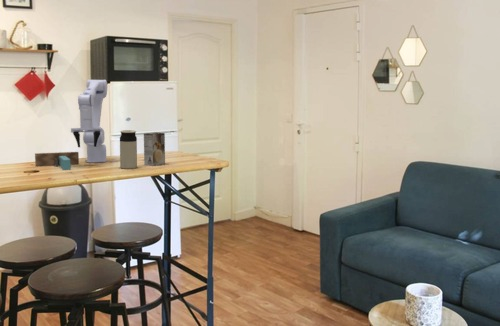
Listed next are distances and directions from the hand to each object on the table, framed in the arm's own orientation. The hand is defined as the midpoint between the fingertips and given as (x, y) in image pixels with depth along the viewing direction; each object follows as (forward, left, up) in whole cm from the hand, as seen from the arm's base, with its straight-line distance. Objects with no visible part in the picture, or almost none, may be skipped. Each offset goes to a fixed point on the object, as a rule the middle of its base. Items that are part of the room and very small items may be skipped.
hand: (87, 146), depth 253 cm
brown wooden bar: (+13, -6, -9) cm, 17 cm away
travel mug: (-17, +13, -10) cm, 23 cm away
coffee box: (-32, +7, -10) cm, 34 cm away
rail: (+11, +2, -10) cm, 15 cm away
